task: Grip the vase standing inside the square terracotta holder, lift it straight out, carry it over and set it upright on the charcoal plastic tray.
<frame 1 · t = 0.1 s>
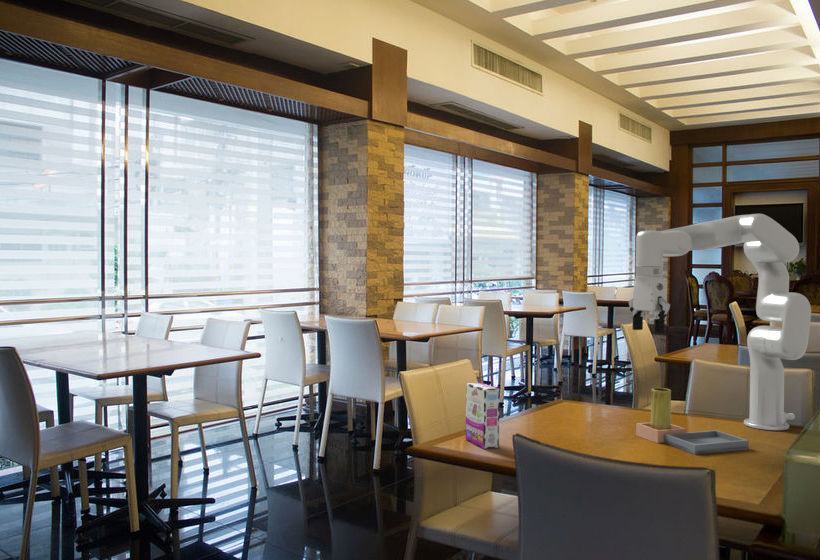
hand: (648, 331, 195), 31 cm above the table, tool pointing down, fingers open, 9 cm apart
holder: (660, 437, 194), on the table
candy bar box: (482, 444, 186), on the table
vase: (660, 438, 194), resting in holder
tray: (705, 446, 185), on the table
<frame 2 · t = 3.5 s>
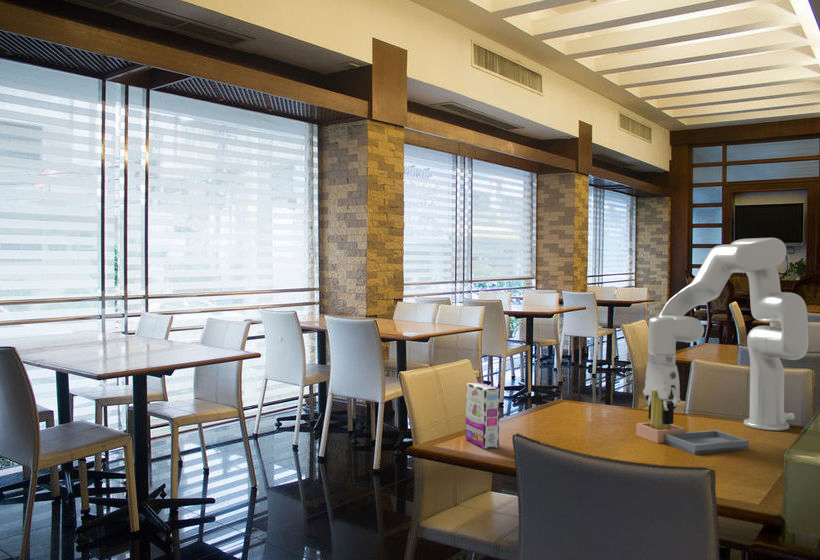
hand: (660, 420, 194), 5 cm above the table, tool pointing down, fingers closed on vase, 5 cm apart
vase: (660, 438, 194), resting in holder, touching gripper
everything else where it was.
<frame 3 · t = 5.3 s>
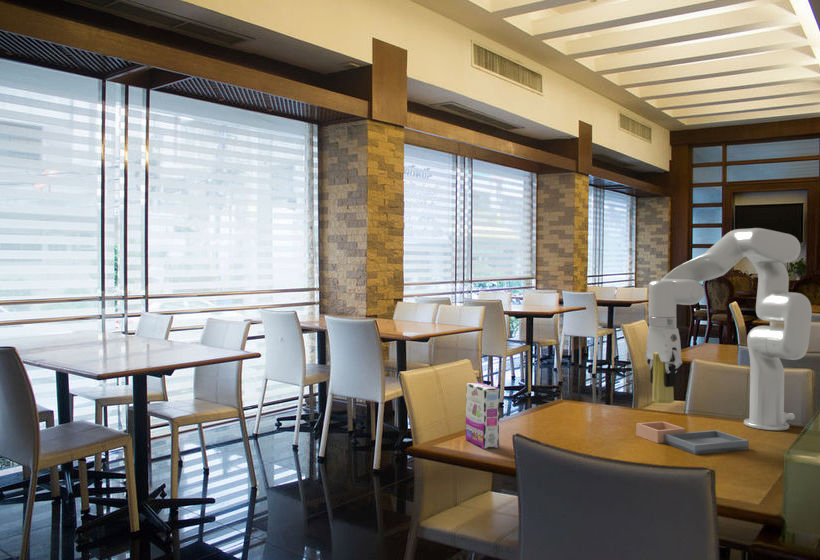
hand: (662, 384, 194), 16 cm above the table, tool pointing down, fingers closed on vase, 5 cm apart
vase: (662, 401, 194), point 11 cm above the table, touching gripper
everything else where it was.
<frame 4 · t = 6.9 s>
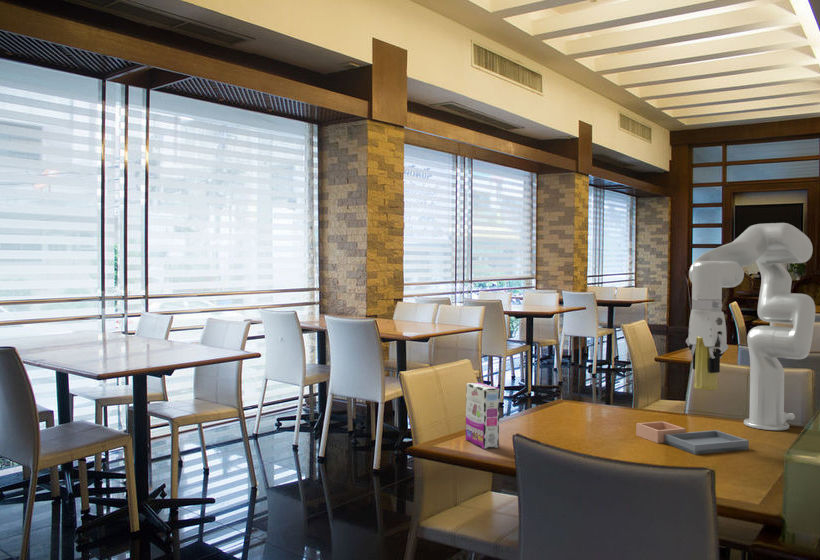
hand: (705, 370, 185), 21 cm above the table, tool pointing down, fingers closed on vase, 5 cm apart
vase: (705, 388, 185), point 16 cm above the table, touching gripper
everything else where it was.
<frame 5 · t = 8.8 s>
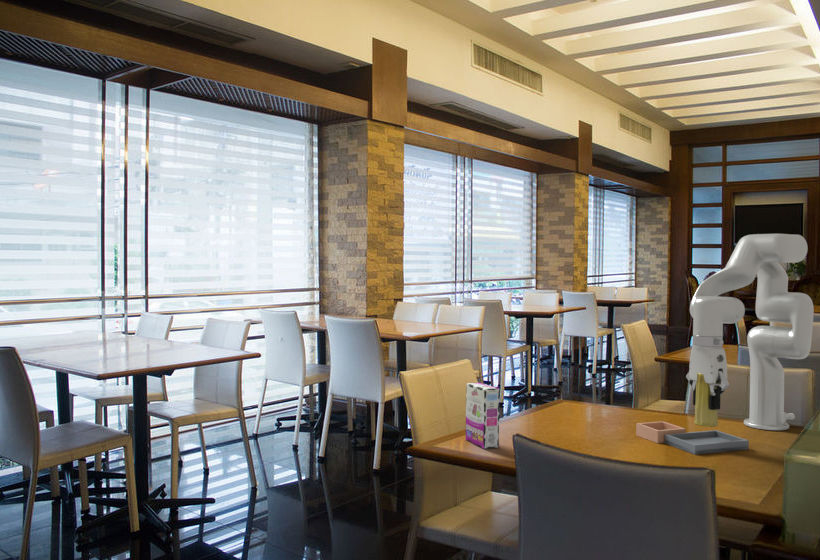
hand: (706, 406, 185), 11 cm above the table, tool pointing down, fingers closed on vase, 5 cm apart
vase: (705, 425, 185), point 6 cm above the table, touching gripper
everything else where it was.
when the fingers open (7 cm above the table, at t = 10.4 s): vase drops 1 cm, resting on tray.
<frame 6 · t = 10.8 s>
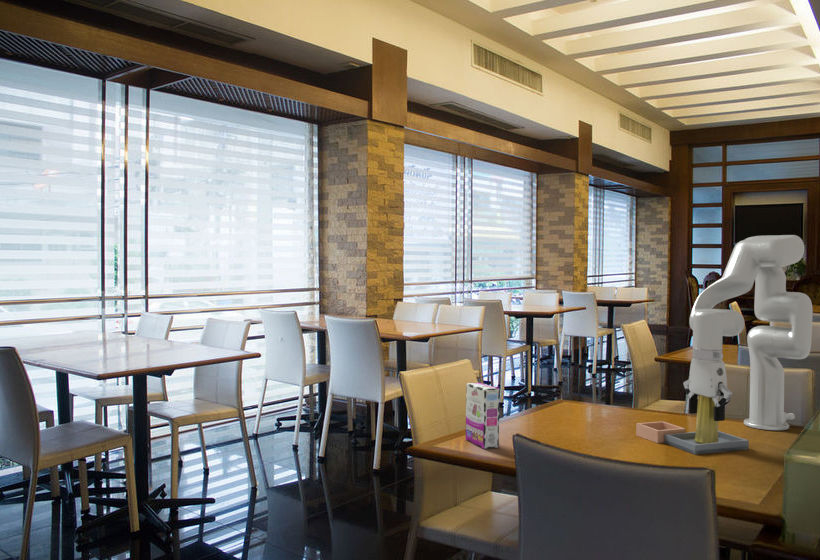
hand: (706, 416, 185), 8 cm above the table, tool pointing down, fingers open, 9 cm apart
vase: (706, 442, 185), point 1 cm above the table, touching tray
everything else where it was.
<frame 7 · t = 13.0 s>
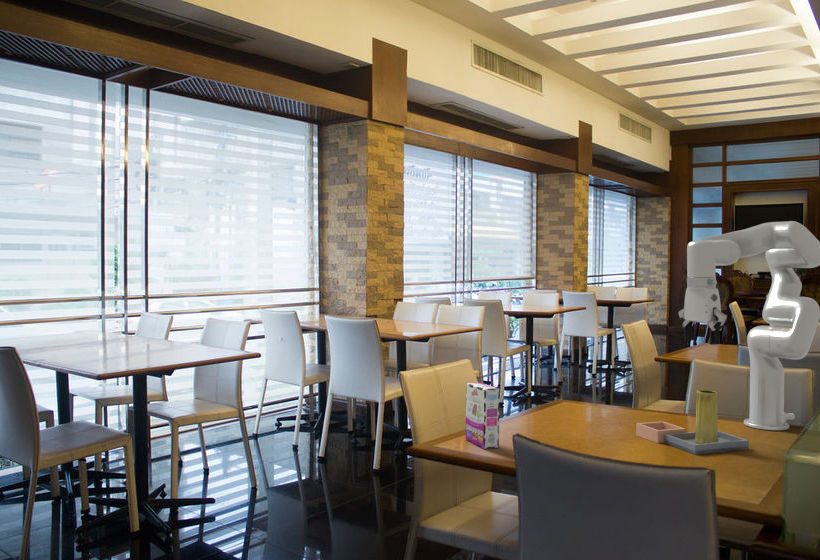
hand: (701, 342, 193), 28 cm above the table, tool pointing down, fingers open, 9 cm apart
nothing on the table moved.
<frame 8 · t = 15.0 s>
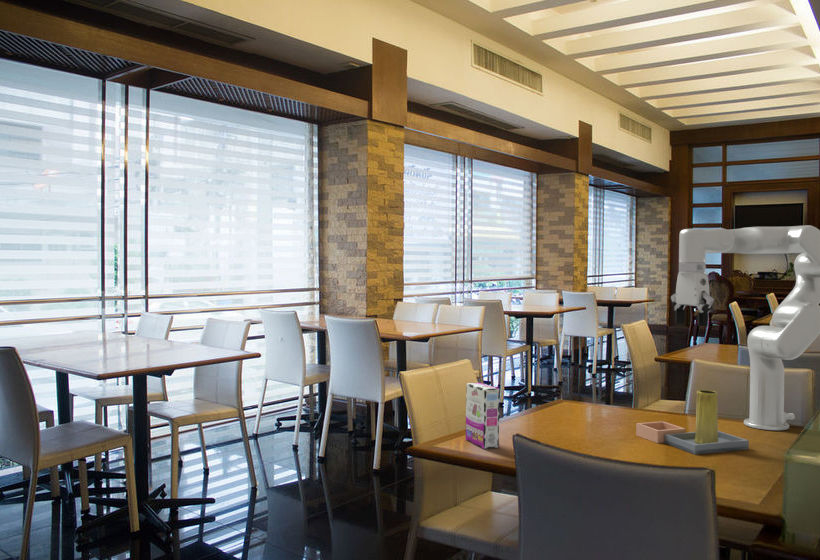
hand: (691, 324, 205), 32 cm above the table, tool pointing down, fingers open, 9 cm apart
nothing on the table moved.
at the end: vase inside the target area on the tray (0.2 cm from its centre), point 0.8 cm above the tray's base; vase tilted 0°; the gripper is holding nothing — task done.
